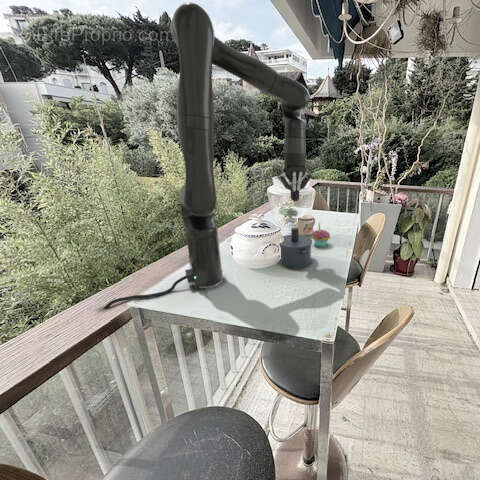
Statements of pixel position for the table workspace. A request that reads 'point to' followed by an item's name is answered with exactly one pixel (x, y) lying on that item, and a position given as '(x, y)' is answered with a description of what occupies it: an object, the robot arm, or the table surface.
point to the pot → (295, 257)
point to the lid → (295, 240)
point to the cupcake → (320, 237)
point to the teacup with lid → (306, 224)
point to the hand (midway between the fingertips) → (294, 200)
